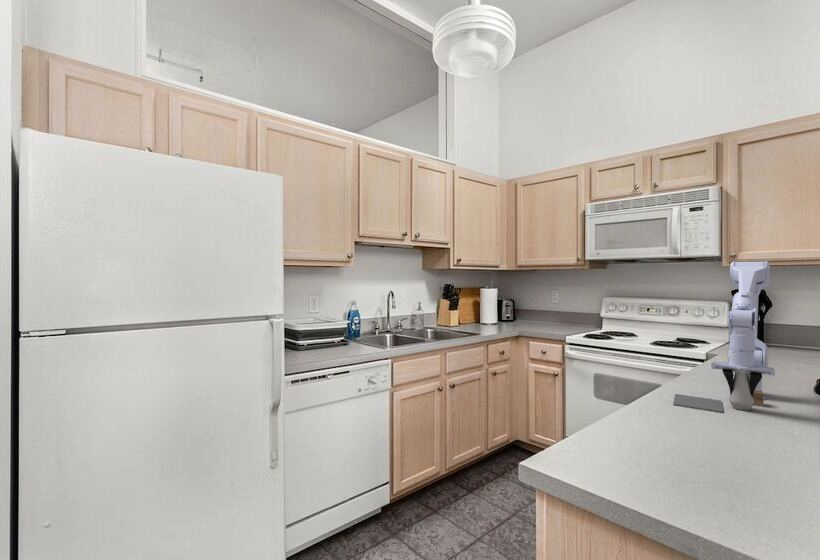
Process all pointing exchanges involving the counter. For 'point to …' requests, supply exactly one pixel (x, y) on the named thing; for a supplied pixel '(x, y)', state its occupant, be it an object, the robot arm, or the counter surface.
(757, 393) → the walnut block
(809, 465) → the counter surface
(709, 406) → the rubber mat
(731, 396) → the salt shaker
